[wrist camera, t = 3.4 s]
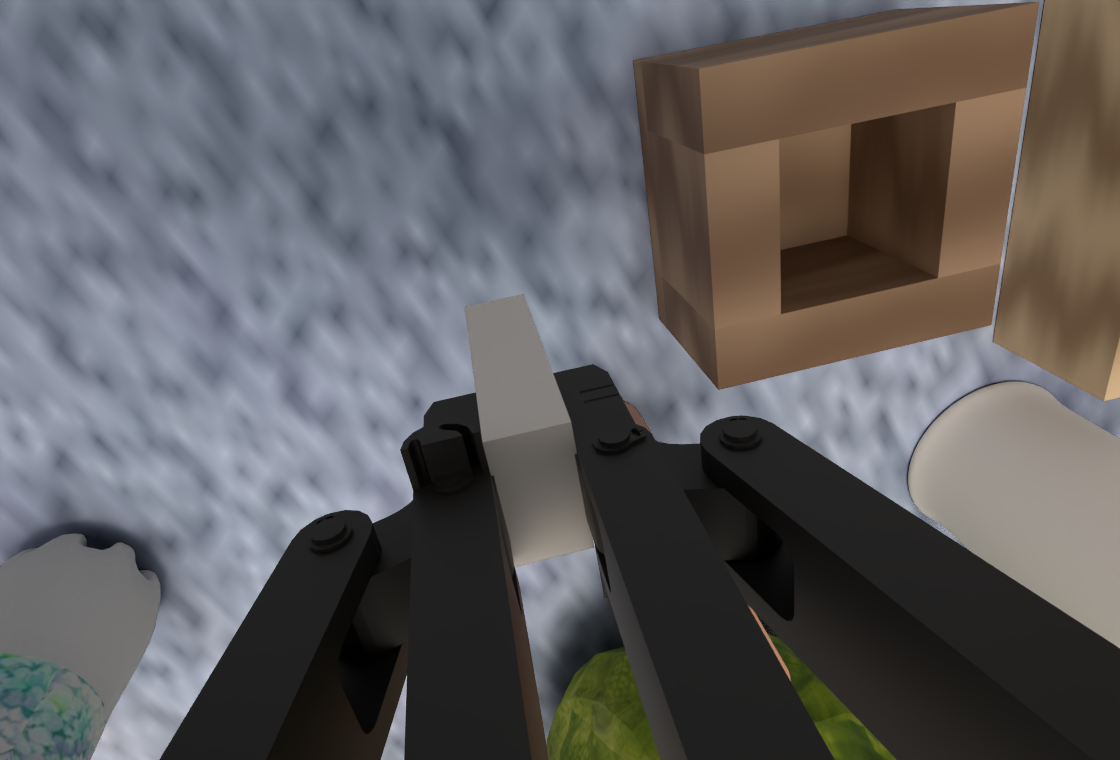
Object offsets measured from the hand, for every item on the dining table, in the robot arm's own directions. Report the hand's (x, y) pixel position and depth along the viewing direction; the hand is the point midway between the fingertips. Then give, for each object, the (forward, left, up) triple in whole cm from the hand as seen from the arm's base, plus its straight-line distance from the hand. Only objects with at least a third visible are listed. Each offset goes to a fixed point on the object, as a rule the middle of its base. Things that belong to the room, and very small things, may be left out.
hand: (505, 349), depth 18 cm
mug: (+17, +25, -10) cm, 31 cm away
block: (0, +12, -10) cm, 15 cm away
